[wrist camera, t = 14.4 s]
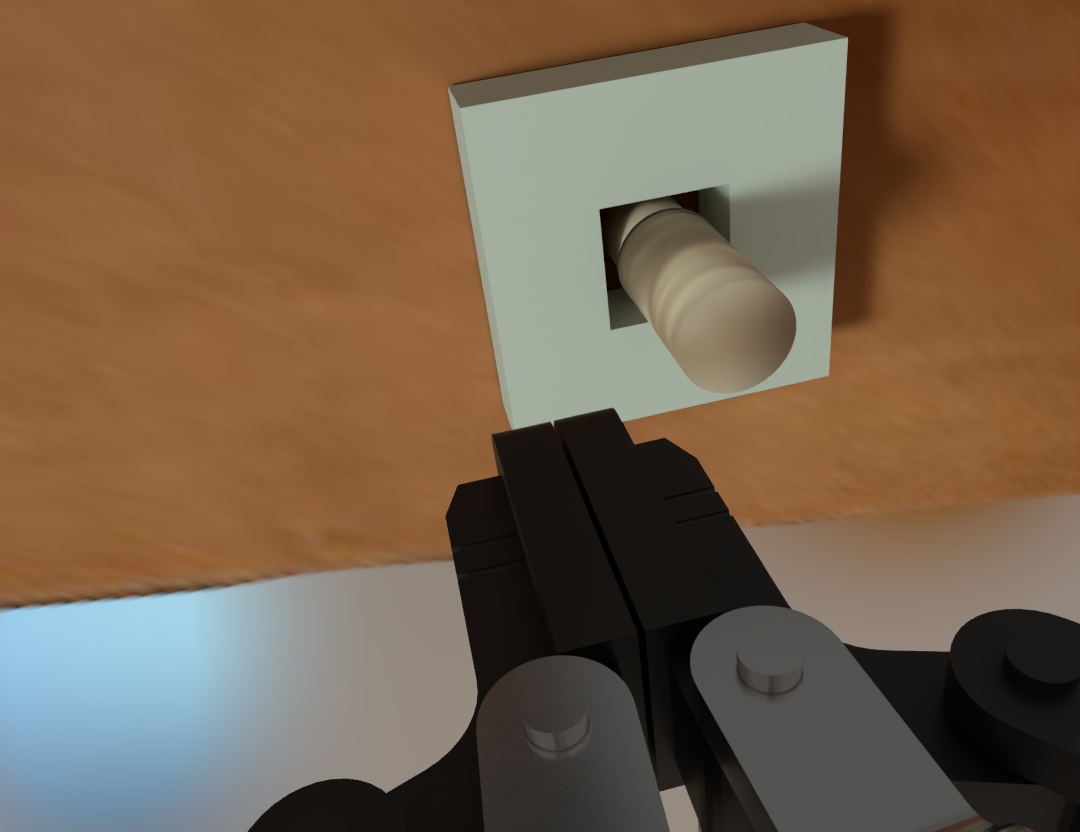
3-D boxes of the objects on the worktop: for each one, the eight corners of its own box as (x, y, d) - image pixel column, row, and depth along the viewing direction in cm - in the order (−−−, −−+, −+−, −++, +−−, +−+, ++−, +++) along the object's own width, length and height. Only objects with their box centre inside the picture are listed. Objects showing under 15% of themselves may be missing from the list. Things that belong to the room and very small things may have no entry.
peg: (590, 190, 42) (674, 294, 32) (686, 171, 42) (799, 268, 32) (598, 282, 44) (679, 406, 34) (690, 264, 45) (795, 380, 35)
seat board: (447, 86, 38) (459, 108, 35) (803, 22, 40) (848, 37, 37) (503, 403, 47) (517, 445, 44) (793, 340, 49) (828, 375, 45)
